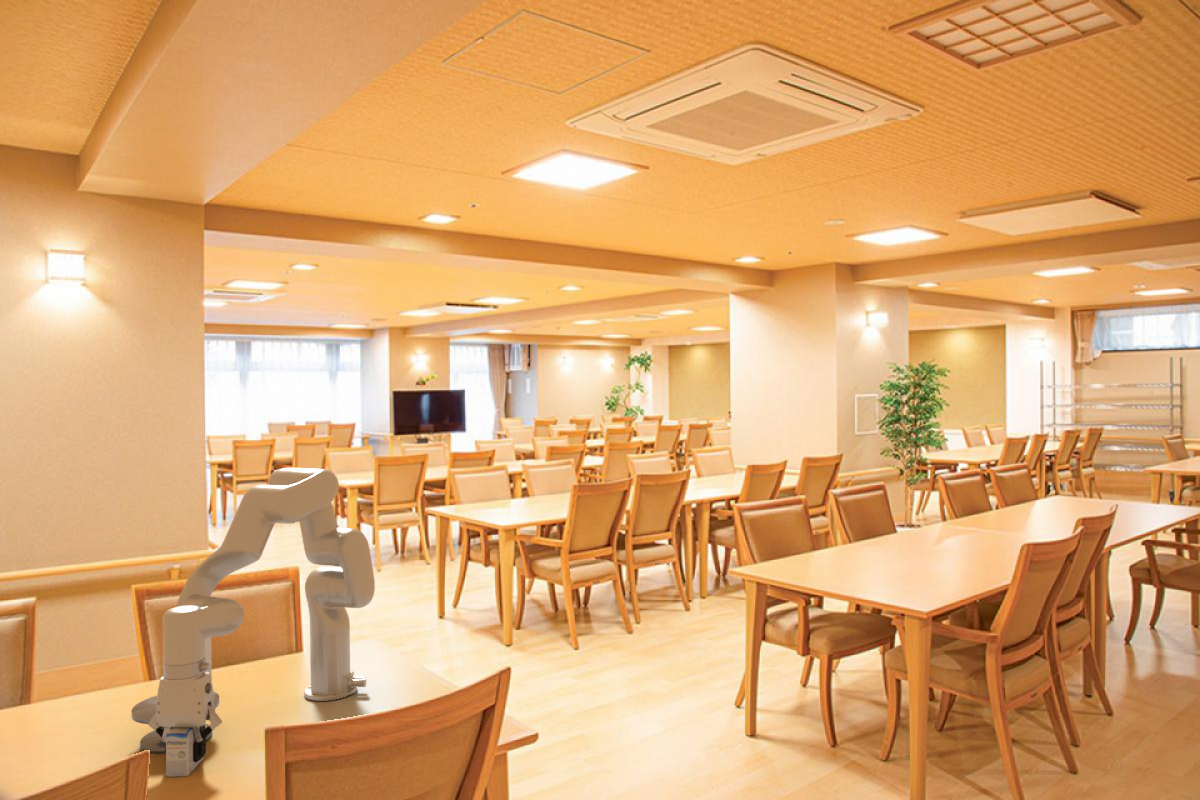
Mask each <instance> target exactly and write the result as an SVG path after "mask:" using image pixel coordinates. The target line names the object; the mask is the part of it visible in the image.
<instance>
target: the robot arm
mask: <svg viewBox="0 0 1200 800" xmlns="http://www.w3.org/2000/svg"><path fill="white" fill-rule="evenodd" d="M339 484H340V483H339V479H338V477H337V475H336V474H335V473H334V472H332V471H331V470H329V469H325V468H305V467H303V468H302V467H283V468H279V469H276V470H274V471H273V472H272V473H271V474H270V476H269V477H268V484H258V485H255V486H252V487H250V488H248V489H247V490H246V492H245V493H244V494H243V496H242V497H241V500H240V503H239V505H238V508H237V510H236V512H235V514H234V516H233V519H232V521H231V523H230V526H229V527H228V530H227V532H226V534H225V537H224V539H223V542H222V543H221V545H220V546H219V547H218V548H217V550H215V551H214V552H212V553H211V554H210V555H208V557H206V558H205V559H204V560H203V561H202V562H201V563H200V564H199V565H198V566H197V567H196V568H195V569H194V570H193V571H192V572H191V574H190V575H189V577H188V578H187V580H186V582H185V584H184V586H183V589H181V593H180V594H179V597H178V599H177V601H176V606H175V607H171V608H169V609H167V610H166V611H165V612H164V613H163V616H162V662H163V663H162V669H163V670H162V672H163V673H162V674H163V675H162V676H161V677H160V679H159V685H158V688H157V689H158V690H157V695H156V696H157V705H156V713H155V715H154V716H153V717H152V719H151V720H150V721H149V723H148V724H147V725H148V726H149V727H150V728H151V729H152V730H153V731H154V730H156V732H157V733H158V734H159V735H160V737H161V738H162V741H163V742H165V754H164V755H165V757H166V734H167V733H168V732H169V731H170V730H171V729H172V728H193V732H194V735H195V739H196V741H195V742H194V743H193V761H194V762H198V761H199V760H201V759H202V758H203V757H204V758H205V756H206V753H207V741H206V737H207V736H208V735H209V734H210V733H211V732H212V733H213V731H214V730H215V729H216V728H217V727H219V726H220V725H221V724H222V723H223V721H222V719H221V717H220V716H219V715H218V714H217V713H216V708H215V701H214V692H215V691H214V688H213V682H212V681H213V680H212V681H211V677H210V674H209V672H205V671H206V670H210V669H211V663H207V662H206V658H205V639H207V638H211V639H212V638H215V637H216V638H217V637H222V636H226V635H230V634H231V633H234V632H235V631H236V630H238V629H239V628H240V626H241V625H242V623H243V621H244V618H245V611H244V608H243V606H242V604H240V602H238V601H237V600H235V599H231V598H227V597H226V598H225V597H218V596H212V594H213V592H214V590H215V589H216V587H217V586H218V585H219V583H221V581H222V580H224V579H225V578H226V577H228V576H229V575H230V574H232V573H235V572H236V571H238V570H241V569H244V568H245V567H248V566H250V565H252V564H254V563H256V562H258V561H259V560H260V559H261V557H262V555H263V553H264V550H265V548H266V546H267V543H268V540H269V539H270V538H269V537H270V535H271V534H272V531H273V528H274V526H275V524H286V525H289V524H291V525H292V524H295V523H299V527H300V532H301V533H300V534H301V537H302V543H303V548H304V554H305V557H306V559H307V560H308V562H309V563H310V564H313V565H318V566H320V567H317V568H314V569H313V570H312V571H311V572H310V573H309V574H308V575H307V577H306V580H305V583H304V593H305V598H306V603H307V607H308V613H309V641H310V642H309V643H310V644H309V646H310V647H309V649H310V650H309V651H310V652H309V653H310V654H309V655H310V656H309V658H310V659H309V661H310V662H309V663H310V685H308V686H307V687H306V688H305V689H304V693H303V694H304V695H303V696H304V697H305V698H306V699H308V700H309V701H317V702H327V701H329V700H330V701H336V699H337V700H340V698H341V699H344V698H347V697H349V696H348V695H350V694H351V695H353V694H354V693H355V692H356V691H357V690H356V689H358V688H366V686H367V679H366V677H365V676H356V675H355V671H354V670H351V648H350V647H351V645H350V643H351V640H350V639H351V637H350V635H351V633H350V628H351V626H350V617H349V614H348V611H347V609H348V608H350V609H361V608H364V607H367V606H368V605H369V604H370V603H371V601H372V600H373V598H374V596H375V587H376V586H375V585H376V582H375V576H374V568H373V563H372V562H373V561H372V556H371V550H370V544H369V541H368V539H367V537H366V536H365V534H364V533H363V532H362V531H360V530H359V529H358V528H352V527H340V526H339V524H338V522H337V518H336V513H335V509H334V506H333V504H332V503H333V501H334V499H336V497H337V494H338V491H339V487H340V485H339ZM346 608H347V609H346ZM351 695H350V696H351ZM346 696H347V697H346ZM343 697H344V698H343ZM330 701H329V702H330ZM207 721H209V723H210V724H208V725H209V726H208V727H207V726H206V724H207V723H206V722H207Z"/></svg>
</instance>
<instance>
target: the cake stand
mask: <svg viewBox="0 0 1200 800" xmlns="http://www.w3.org/2000/svg"><path fill="white" fill-rule="evenodd" d="M214 701H215V709H216V708H217V707H218V706H219V704H220V694H219V693H217V692H216V691H214ZM156 705H157V695H154V696H152V697H151V696H150V697H148V698H146V699H143V700H141V701H140V702H138V703H136V704H135V705H134V706H133V707H132V708H131V719H132V721H134V722H136V723H139V724H144V725H148V723H149V721H150V720H151V719H152V717H153V716H154V715H155V713H156ZM209 725H210V724H207V723H206V726H207V727H208V726H209ZM212 736H213V731H212V732H211V733H210V734H209V735H208V736H207V737H206V742H208V741H209V740H211V738H212ZM139 748H140V750H141V749H142V750H141V751H142V752H144V750H150V753H149V754H152V753H153V754H154V755H157V754H158V755H163V754H164V755H165V742H163V741H162V738H161V737H160V735H159V734H158V733H157V732H156V730H154V729H153V730H152V731H150V732H148V733H146V734H145V735H144V736H143V737H142V738H141V739H140V742H139ZM153 754H152V755H153Z"/></svg>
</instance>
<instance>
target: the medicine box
mask: <svg viewBox="0 0 1200 800" xmlns="http://www.w3.org/2000/svg"><path fill="white" fill-rule="evenodd" d="M195 741H196V739H195V735H194V732H193V728H172V729H171V730H170V731H169V732H168V733H167V734H166V756H165V776H166V777H167V778H175V777H177V778H178V777H179V778H180V777H189V776H190V774H191V773H192V772H193V771H194V770H195V769H196V768H197V766H199V764H200V763H201V762H202V761H203V760H204V759H205V756H204V757H203V758H202V759H201V760H199V761H198V762H194V761H193V743H194V742H195Z"/></svg>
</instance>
